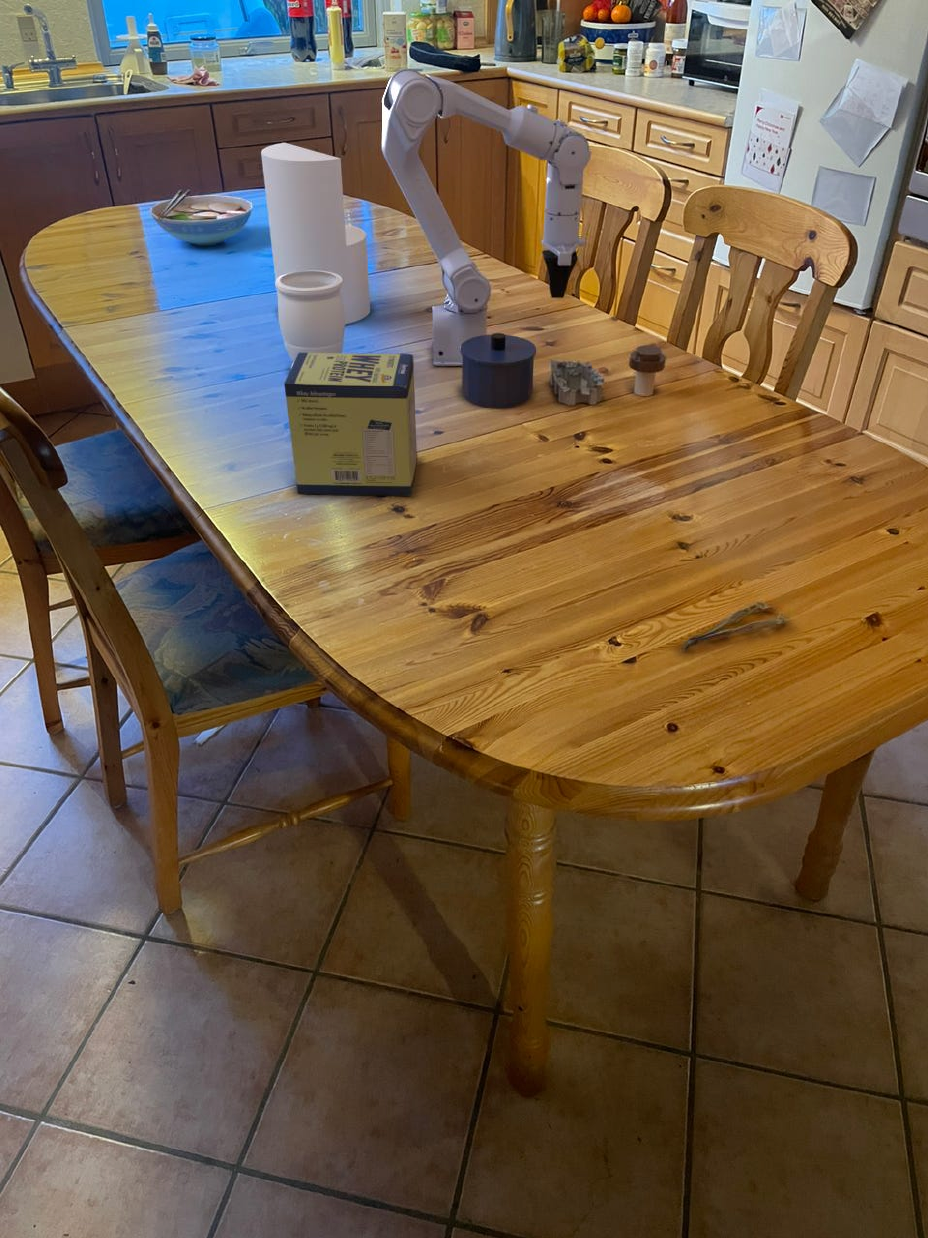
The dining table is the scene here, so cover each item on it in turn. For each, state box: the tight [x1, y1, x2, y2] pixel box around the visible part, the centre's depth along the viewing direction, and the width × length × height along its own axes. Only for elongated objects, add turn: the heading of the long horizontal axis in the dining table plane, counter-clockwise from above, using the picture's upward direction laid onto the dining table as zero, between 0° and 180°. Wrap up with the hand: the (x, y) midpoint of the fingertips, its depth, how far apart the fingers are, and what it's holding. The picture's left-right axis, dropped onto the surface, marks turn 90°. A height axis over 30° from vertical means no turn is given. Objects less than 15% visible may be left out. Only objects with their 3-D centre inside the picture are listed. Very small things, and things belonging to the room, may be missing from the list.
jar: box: [274, 270, 346, 369], centre depth 154 cm, size 11×10×15 cm
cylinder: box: [260, 142, 371, 325], centre depth 173 cm, size 17×17×28 cm
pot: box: [461, 356, 535, 409], centre depth 149 cm, size 11×11×7 cm
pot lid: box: [460, 332, 537, 366], centre depth 146 cm, size 12×12×3 cm
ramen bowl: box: [149, 189, 253, 247], centre depth 215 cm, size 25×23×8 cm
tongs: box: [682, 601, 788, 652], centre depth 101 cm, size 4×13×2 cm, turn 123°
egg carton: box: [550, 359, 605, 407], centre depth 151 cm, size 11×8×4 cm
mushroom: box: [628, 345, 667, 397], centre depth 150 cm, size 6×6×7 cm
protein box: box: [283, 352, 418, 497], centre depth 124 cm, size 10×16×16 cm
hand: (557, 296), depth 160 cm, fingers closed
